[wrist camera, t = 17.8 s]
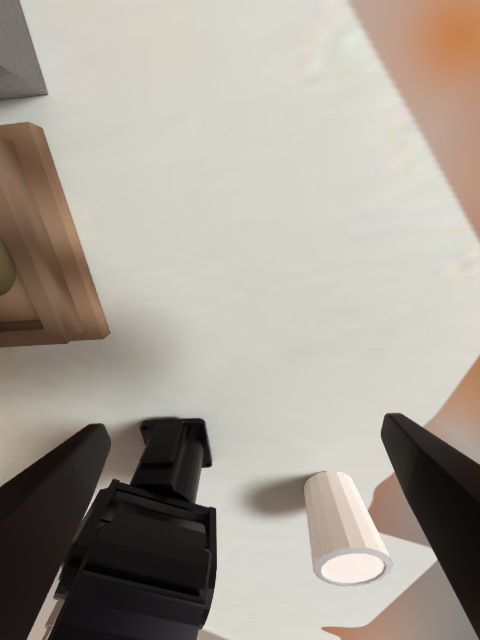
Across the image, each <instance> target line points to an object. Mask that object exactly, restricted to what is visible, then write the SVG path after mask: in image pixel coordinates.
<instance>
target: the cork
mask: <svg viewBox="0 0 480 640" xmlns="http://www.w3.org/2000/svg"><path fill="white" fill-rule="evenodd" d="M15 277H16V269H15V262H14V260H13V258H12V256H11V254H10V251H9V249H8V247H7V245H6V244H5V242H4V241H3V240H2V238H1V237H0V296H2V295H4V294H6V293H8V291H9V290H10V289H11V288H12V287H13V285H14V282H15Z"/></svg>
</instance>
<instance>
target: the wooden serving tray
mask: <svg viewBox="0 0 480 640" xmlns="http://www.w3.org/2000/svg"><path fill="white" fill-rule="evenodd" d="M0 237H1V238H2V240H3V241H4V242H5V244H6V245H7V247H8V249H9V251H10V254H11V256H12V258H13V260H14V262H15V269H16V277H15V282H14V285H13V287H12V288H11V289H10V290H9V291H8V293H6V294H4V295H2V296H0V347H13V346H31V345H49V344H67V343H69V342H70V341H78V340H96V339H104V338H105V337H107V336H108V335H109V334H110V332H109V329H108V326H107V323H106V319H105V316H104V313H103V310H102V307H101V304H100V301H99V298H98V295H97V292H96V289H95V286H94V283H93V280H92V277H91V274H90V271H89V268H88V265H87V262H86V259H85V256H84V253H83V250H82V247H81V244H80V241H79V238H78V235H77V232H76V229H75V226H74V223H73V220H72V216H71V213H70V210H69V207H68V204H67V201H66V198H65V195H64V192H63V189H62V186H61V183H60V180H59V177H58V174H57V171H56V168H55V165H54V162H53V159H52V156H51V153H50V150H49V147H48V144H47V141H46V138H45V135H44V132H43V129H42V128H41V127H39V126H37V125H34V124H32V123H30V122H24V123H16V124H7V125H0Z"/></svg>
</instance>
